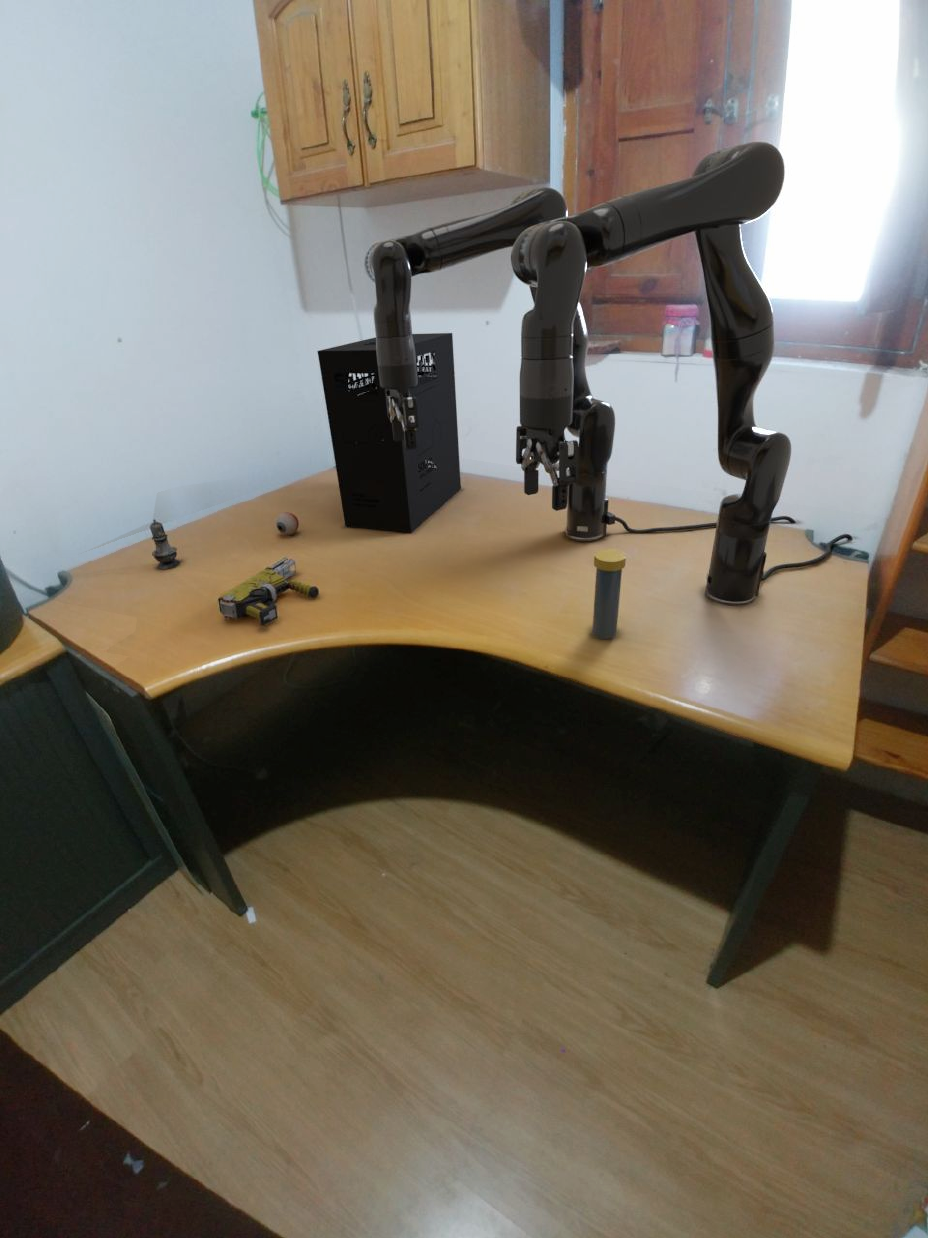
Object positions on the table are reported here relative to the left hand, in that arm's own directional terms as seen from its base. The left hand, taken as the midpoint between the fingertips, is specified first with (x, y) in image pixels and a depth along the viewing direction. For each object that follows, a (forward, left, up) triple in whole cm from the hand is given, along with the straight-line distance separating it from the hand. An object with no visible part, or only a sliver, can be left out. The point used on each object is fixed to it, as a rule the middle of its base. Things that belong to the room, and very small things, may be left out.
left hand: (404, 444), depth 126 cm
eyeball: (+24, -39, -29) cm, 55 cm away
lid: (-23, +42, -14) cm, 50 cm away
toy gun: (+31, 0, -29) cm, 43 cm away
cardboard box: (-11, -44, -29) cm, 54 cm away
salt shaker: (+55, -33, -29) cm, 71 cm away
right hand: (-9, +44, -1) cm, 45 cm away
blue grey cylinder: (-23, +42, -29) cm, 57 cm away
